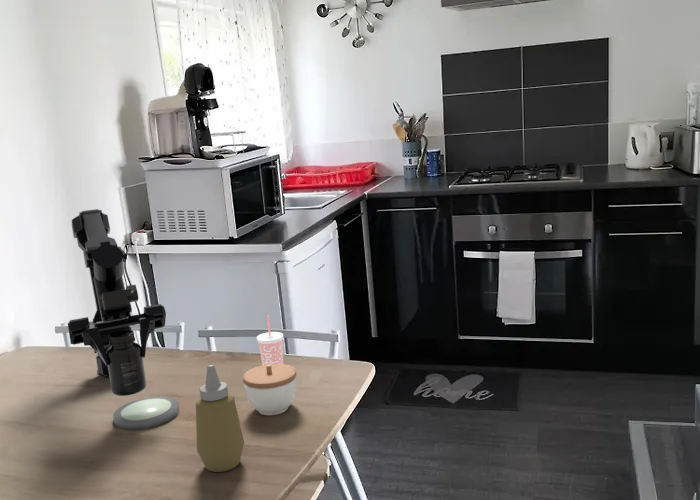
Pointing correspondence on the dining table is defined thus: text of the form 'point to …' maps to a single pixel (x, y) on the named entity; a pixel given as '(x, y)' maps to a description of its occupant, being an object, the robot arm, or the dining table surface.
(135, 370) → the supplement bottle
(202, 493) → the dining table surface
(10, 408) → the dining table surface
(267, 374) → the lidded jar
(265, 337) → the beverage cup
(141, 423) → the plate
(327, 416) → the dining table surface
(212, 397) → the squeeze bottle
